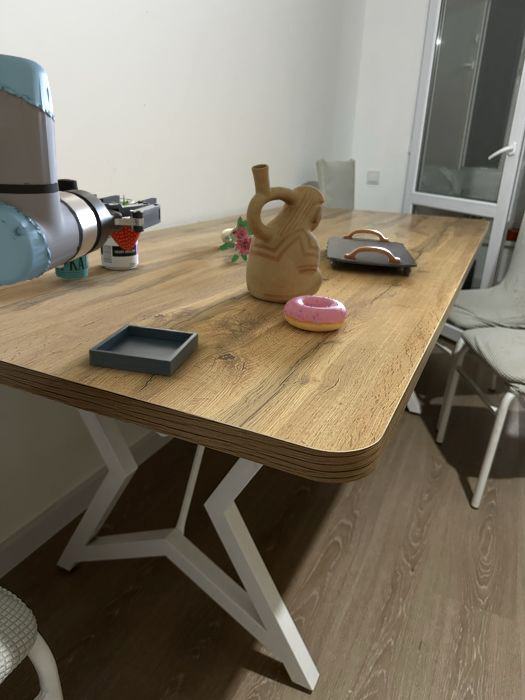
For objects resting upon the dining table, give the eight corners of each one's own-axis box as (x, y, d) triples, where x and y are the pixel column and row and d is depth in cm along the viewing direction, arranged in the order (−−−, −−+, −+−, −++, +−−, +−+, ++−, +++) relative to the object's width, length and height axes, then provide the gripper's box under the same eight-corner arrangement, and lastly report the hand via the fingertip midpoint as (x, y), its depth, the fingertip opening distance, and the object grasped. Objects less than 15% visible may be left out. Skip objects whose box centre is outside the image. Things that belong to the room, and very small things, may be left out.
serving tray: (418, 279, 126) (422, 253, 124) (323, 270, 128) (326, 245, 126) (400, 250, 162) (404, 230, 160) (326, 244, 164) (328, 224, 162)
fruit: (124, 254, 75) (123, 197, 72) (99, 249, 78) (97, 193, 75) (150, 250, 79) (149, 196, 77) (126, 245, 82) (124, 192, 79)
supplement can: (109, 261, 124) (106, 196, 118) (143, 264, 123) (141, 199, 118) (95, 268, 116) (91, 200, 111) (131, 271, 116) (129, 202, 110)
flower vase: (239, 271, 155) (267, 272, 122) (201, 258, 152) (218, 256, 118) (251, 233, 154) (282, 224, 121) (212, 219, 151) (233, 205, 117)
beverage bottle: (56, 278, 107) (47, 176, 99) (90, 278, 109) (83, 178, 101) (54, 287, 101) (45, 179, 93) (90, 286, 103) (83, 181, 96)
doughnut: (359, 328, 88) (362, 305, 87) (310, 338, 82) (312, 313, 81) (317, 311, 96) (319, 289, 95) (269, 318, 90) (271, 295, 89)
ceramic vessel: (341, 297, 106) (356, 169, 97) (274, 313, 93) (285, 167, 84) (281, 279, 117) (290, 163, 108) (214, 292, 104) (218, 160, 95)
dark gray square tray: (89, 364, 68) (88, 350, 67) (127, 336, 78) (126, 323, 77) (170, 376, 66) (170, 361, 65) (198, 346, 76) (198, 332, 75)
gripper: (-3, 251, 62) (81, 225, 83) (145, 263, 60) (192, 233, 82) (-12, 186, 59) (78, 176, 81) (144, 197, 57) (193, 184, 79)
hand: (135, 205), depth 81 cm, fingers closed on fruit, 5 cm apart
